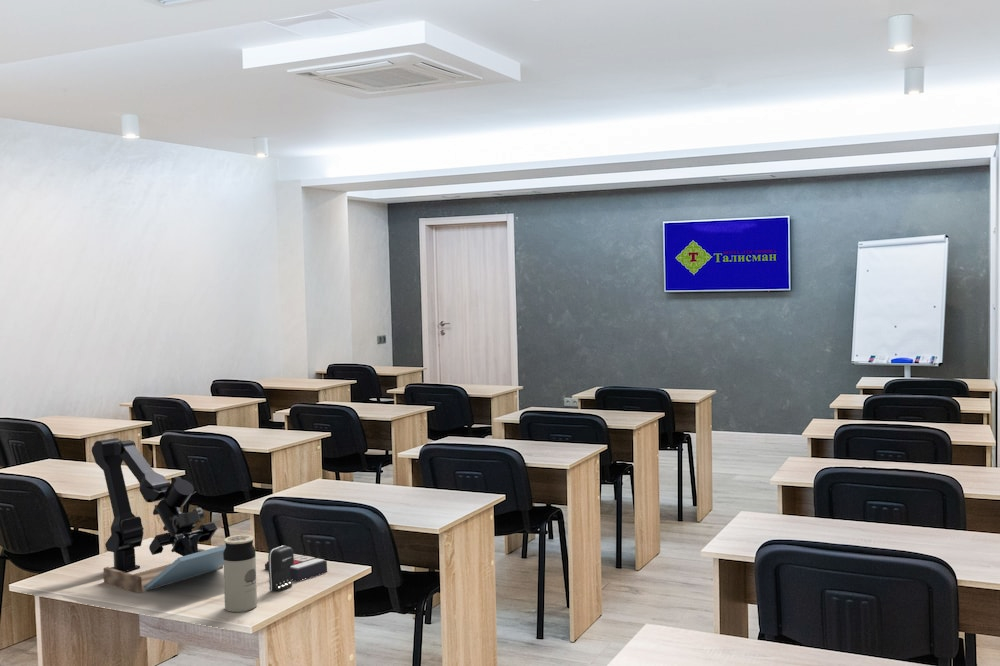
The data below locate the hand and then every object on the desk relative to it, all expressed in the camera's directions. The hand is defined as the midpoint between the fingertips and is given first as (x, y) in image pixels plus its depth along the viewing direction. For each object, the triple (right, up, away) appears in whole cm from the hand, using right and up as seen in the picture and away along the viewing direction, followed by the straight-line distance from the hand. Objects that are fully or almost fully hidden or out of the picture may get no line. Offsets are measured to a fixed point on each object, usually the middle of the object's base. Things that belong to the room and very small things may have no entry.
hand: (197, 562), depth 249 cm
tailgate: (-6, -6, +5) cm, 10 cm away
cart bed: (-13, -7, +10) cm, 17 cm away
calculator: (+24, -7, +13) cm, 29 cm away
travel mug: (+17, -8, -17) cm, 25 cm away
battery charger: (+24, -7, -2) cm, 25 cm away
